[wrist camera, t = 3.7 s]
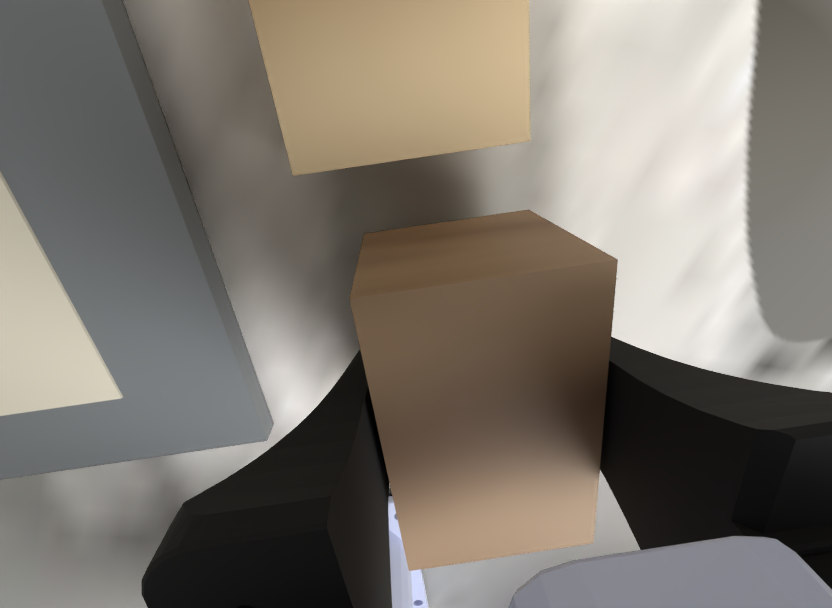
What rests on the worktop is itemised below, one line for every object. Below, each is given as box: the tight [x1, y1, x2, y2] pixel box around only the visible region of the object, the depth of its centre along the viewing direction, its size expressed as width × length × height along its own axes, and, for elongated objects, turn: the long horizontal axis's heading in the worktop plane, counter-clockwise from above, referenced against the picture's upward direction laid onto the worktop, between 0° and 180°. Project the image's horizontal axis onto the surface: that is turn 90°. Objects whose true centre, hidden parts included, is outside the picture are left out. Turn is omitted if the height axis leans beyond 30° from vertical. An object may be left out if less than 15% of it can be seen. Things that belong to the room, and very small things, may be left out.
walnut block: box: [349, 210, 618, 571], centre depth 11 cm, size 8×5×5 cm, turn 7°
